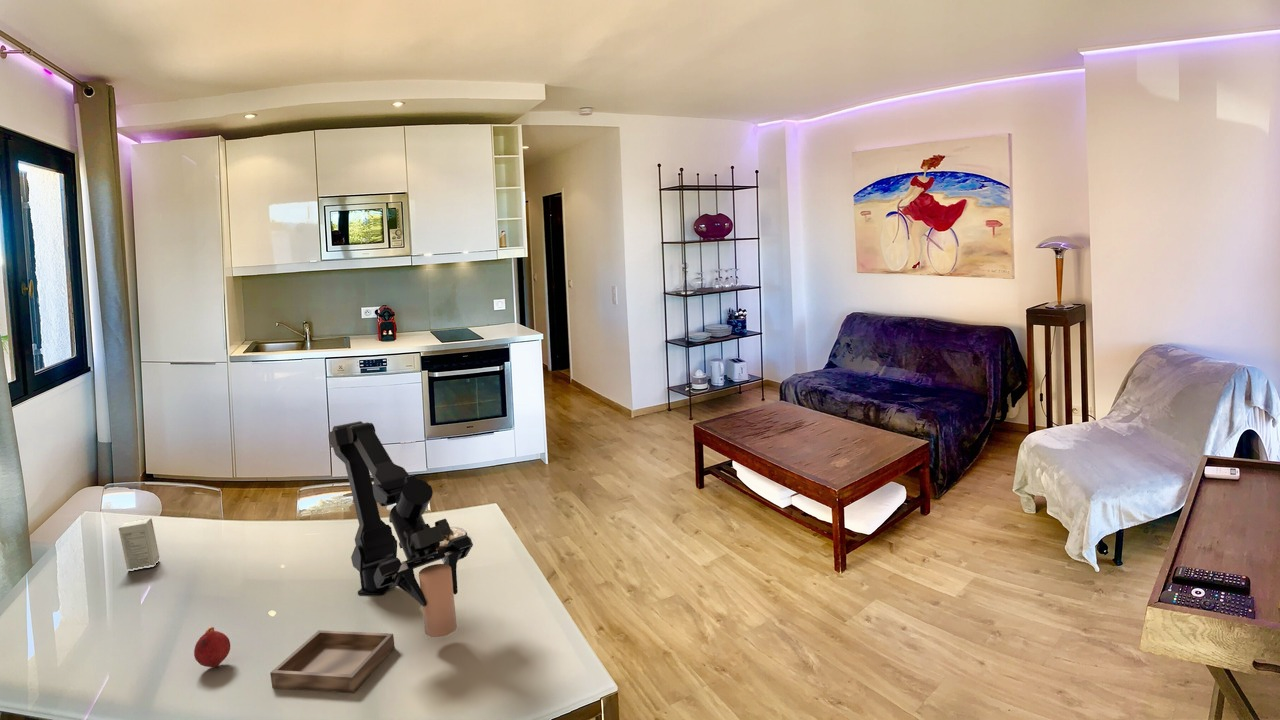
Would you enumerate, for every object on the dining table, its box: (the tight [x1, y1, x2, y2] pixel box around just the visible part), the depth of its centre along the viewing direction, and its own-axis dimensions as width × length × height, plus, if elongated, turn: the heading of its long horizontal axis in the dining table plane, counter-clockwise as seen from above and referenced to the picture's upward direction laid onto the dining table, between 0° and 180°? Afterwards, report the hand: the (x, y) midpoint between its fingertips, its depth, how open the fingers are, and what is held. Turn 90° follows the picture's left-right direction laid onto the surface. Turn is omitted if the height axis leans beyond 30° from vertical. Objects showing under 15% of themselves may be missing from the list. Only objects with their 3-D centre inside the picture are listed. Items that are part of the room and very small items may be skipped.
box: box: [269, 630, 396, 694], centre depth 128 cm, size 16×14×3 cm
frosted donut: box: [436, 526, 468, 550], centre depth 184 cm, size 15×15×4 cm
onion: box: [193, 626, 231, 668], centre depth 130 cm, size 6×6×8 cm
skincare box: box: [118, 517, 160, 570], centre depth 177 cm, size 6×4×12 cm
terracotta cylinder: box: [418, 563, 458, 638], centre depth 133 cm, size 6×6×12 cm
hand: (440, 599), depth 132 cm, fingers closed on terracotta cylinder, 6 cm apart
